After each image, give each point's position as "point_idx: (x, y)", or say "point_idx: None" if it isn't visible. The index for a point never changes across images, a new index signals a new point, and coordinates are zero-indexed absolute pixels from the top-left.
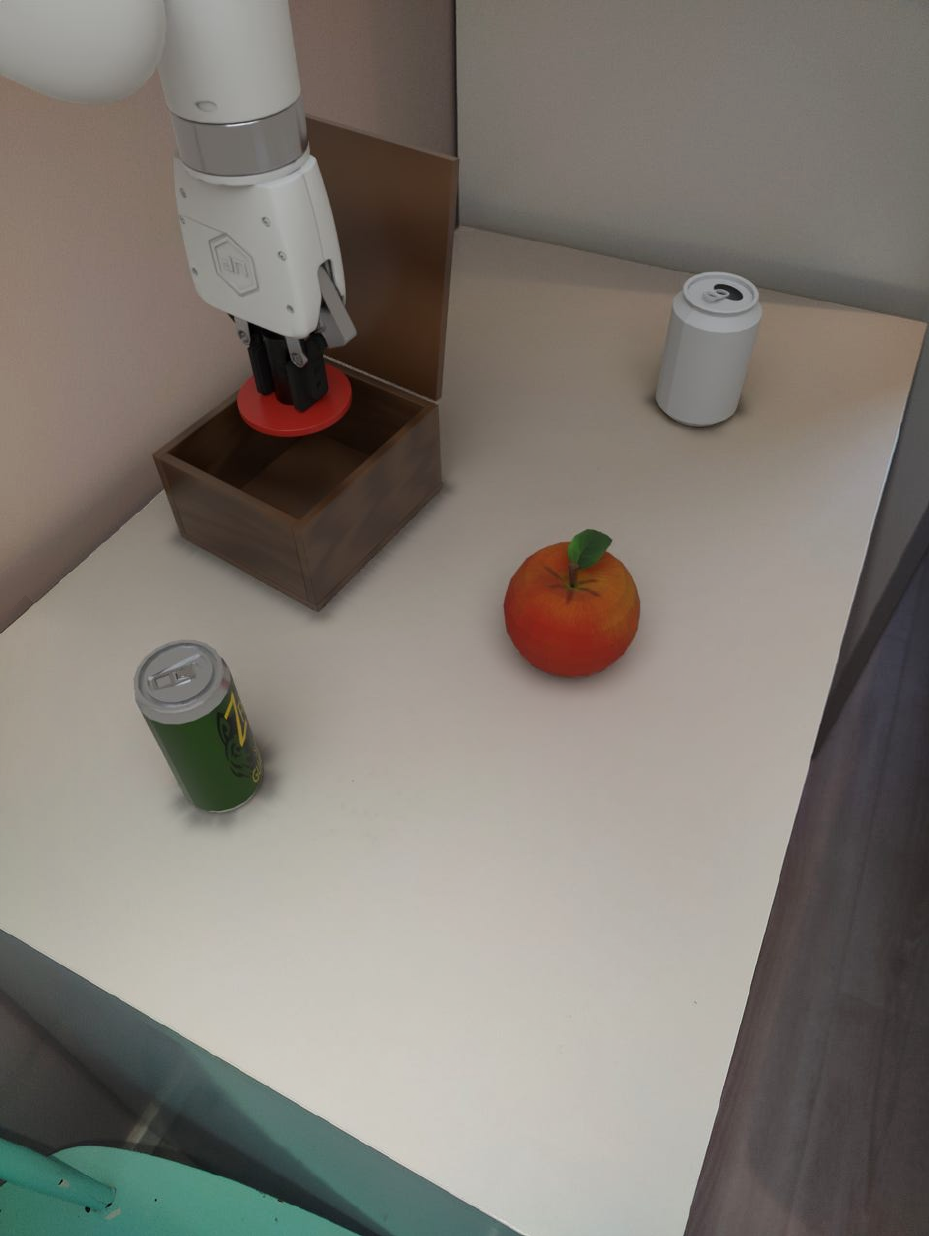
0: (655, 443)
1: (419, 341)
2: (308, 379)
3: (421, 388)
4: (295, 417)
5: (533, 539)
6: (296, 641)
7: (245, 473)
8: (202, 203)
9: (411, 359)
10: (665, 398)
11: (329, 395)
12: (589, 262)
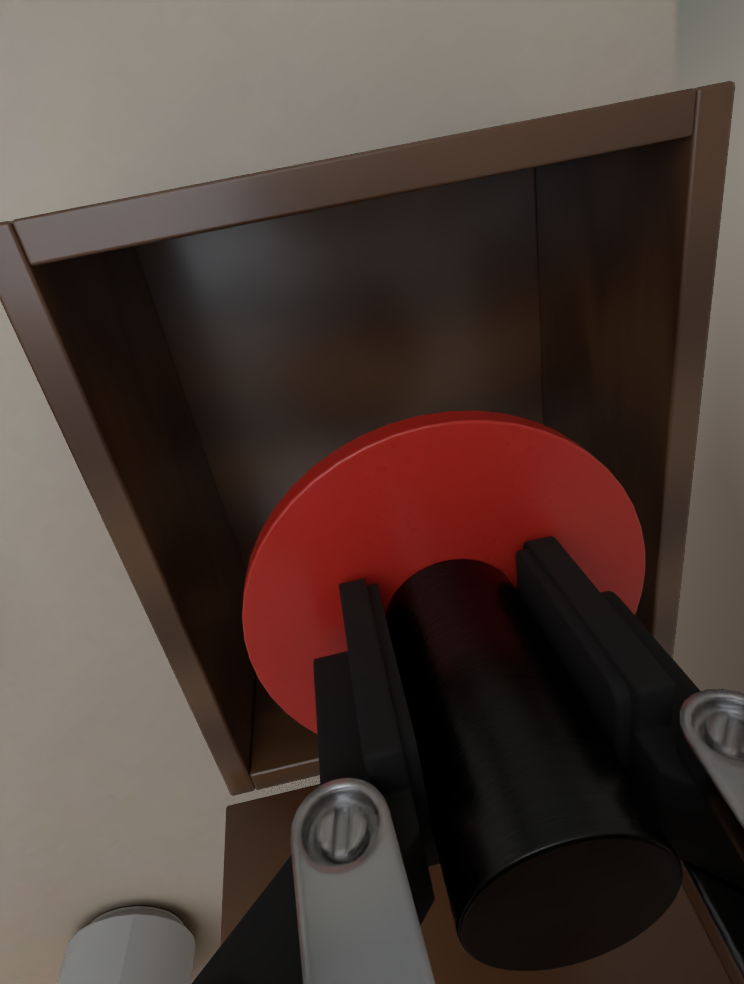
0: (105, 870)
1: None
2: (326, 728)
3: (271, 815)
4: (341, 552)
5: (27, 650)
6: (50, 109)
7: (551, 369)
8: None
9: None
10: (137, 941)
11: None
12: None
